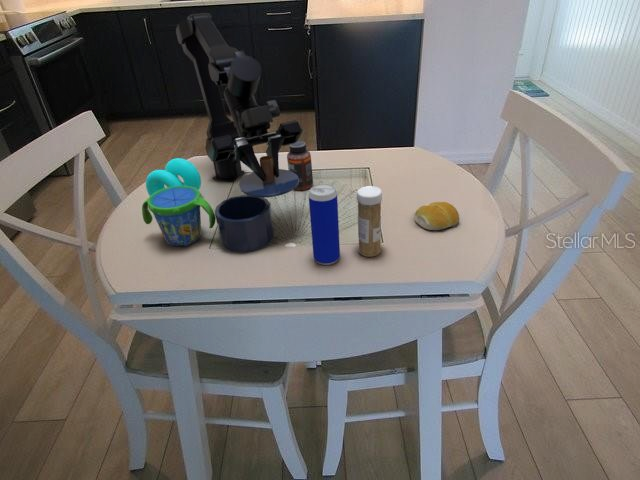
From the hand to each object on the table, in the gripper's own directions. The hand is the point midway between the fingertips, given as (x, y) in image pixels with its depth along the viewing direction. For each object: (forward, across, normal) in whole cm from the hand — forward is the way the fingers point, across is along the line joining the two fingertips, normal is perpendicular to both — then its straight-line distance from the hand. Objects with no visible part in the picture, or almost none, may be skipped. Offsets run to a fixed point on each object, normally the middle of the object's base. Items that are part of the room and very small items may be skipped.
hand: (270, 178), depth 92 cm
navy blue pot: (+8, -6, +10) cm, 15 cm away
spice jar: (+21, +13, -2) cm, 25 cm away
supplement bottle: (-3, +14, +22) cm, 26 cm away
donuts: (-10, -15, +29) cm, 34 cm away
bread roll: (+19, +31, -1) cm, 37 cm away
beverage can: (+19, +5, -1) cm, 20 cm away
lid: (0, 0, +2) cm, 2 cm away
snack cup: (+3, -18, +16) cm, 24 cm away
